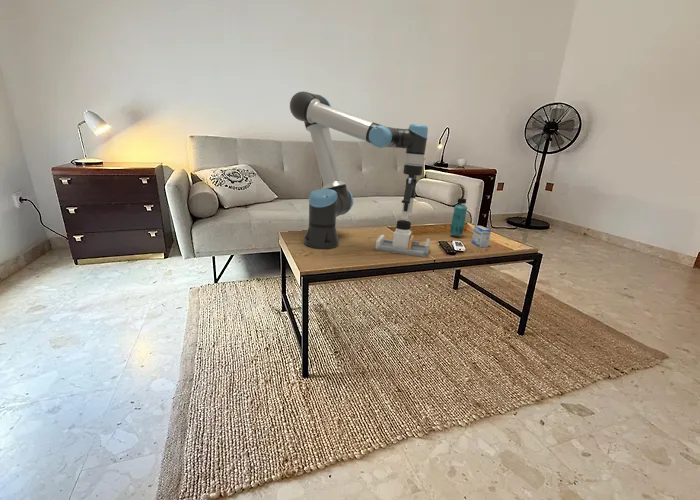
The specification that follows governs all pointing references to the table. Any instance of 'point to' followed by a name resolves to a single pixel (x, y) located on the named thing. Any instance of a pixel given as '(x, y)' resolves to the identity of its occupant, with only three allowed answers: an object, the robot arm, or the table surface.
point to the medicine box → (481, 236)
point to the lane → (387, 247)
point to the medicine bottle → (402, 234)
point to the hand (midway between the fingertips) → (406, 215)
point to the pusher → (412, 242)
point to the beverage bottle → (458, 218)
